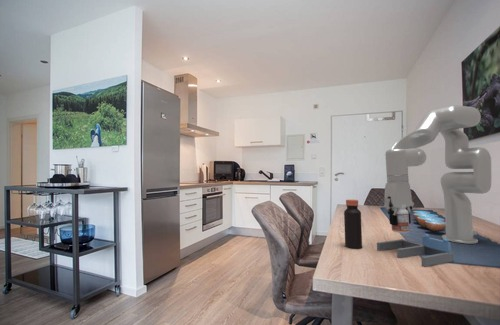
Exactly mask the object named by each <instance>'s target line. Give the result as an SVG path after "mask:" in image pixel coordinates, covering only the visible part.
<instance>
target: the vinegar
mask: <svg viewBox="0 0 500 325" xmlns="http://www.w3.org/2000/svg"><path fill="white" fill-rule="evenodd" d="M345 205H346V206H345V207H346V209H345V210H344V211H343V218H344V219H343V223H344V244H345V245H344V246H345V247H346V248H348V249H354V250H355V249H356V250H357V249H362V248H363V235H362V232H363V231H362V213H361V210H360V209H358V207H359V200H358V199H346V200H345Z"/></svg>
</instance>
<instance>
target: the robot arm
mask: <svg viewBox="0 0 500 325" xmlns="http://www.w3.org/2000/svg"><path fill="white" fill-rule="evenodd" d="M481 119H482V115H481V112H480V111H479V109H477V108H475V107H473V106H468V105H467V106H466V105H454V104H453V105H450V106H445V107H441V108H437V109H433V110H430V111H428V112H427V113H426V114H425V115H424V116H423V117H422V119H421V120H420V122H419V123H418V125H416V127H415V129H414V130H413V131H411V132H410V133H408V134H407V135H405V136H403V137H402V138H400V139H399V140H397V141H396V142H395V143H394V144H393V145H392V147H391V148H390V149H387V150H386V151H385V155H384V156H385V167H386V168H385V169H386V170H385V171H386V183H385V187H384V203H383V206H382V207H383V208H384V210H385V211H386V212H387V215H388V216H389V225H391V226H392V225H396V226H397V225H398V218H397V215H396V212H397V208H401V207H402V205H406V208H405V209H406V210H407V211H408V213H409V225H410V224H411V223H412V221H411V214H412V210H413V208H414V206H415V202H414V201H413V199H412V190H411V186H410V180H409V169H408V168H409V167H410V168H411V167H419V166H422V165H423V164H425V163H426V161H427V154H426V152H425V151H424V149H421V147H424V146H426V145H428V144H430V143H432V142H434V141H435V139H436V138H437V137H438V136H439V134H441V135H442V137H443V139H444V146H445V147H444V150H445V151H444V160H445V162H444V163H445V166H446V168H448V169H451V170H473V171H451V172H446V173H444V174H443V175H441V177H440V185H441V188H442V189H441V190H442V193H443V198H444V199H443V201H444V202H443V203H444V216H445V217H444V220H445V234H442V235H441V238H442V239H443V238H446V239H449V242H451V243H458V244H465V245H466V244H467V245H469V244H471V245H473V244H474V245H475V244H478V243H479V240H478V239H477V238H476V237H474V236H476V235H478V231H477V230H474V229H473V212H472V202H471V200H470V198H469V197H468V196H467V194H487V193H489V192H490V190H491V187H492V157H491V154H490V151H488V149H486V148H485V147H469V137H468V136H467V134H466V133H465V132H464V131H462V130H461V129H465V128H472V127H476V126H477V125H479V124H480V122H481ZM392 206H393V207H392ZM392 209H394V210H392Z"/></svg>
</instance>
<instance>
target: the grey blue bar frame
mask: <svg viewBox="0 0 500 325" xmlns="http://www.w3.org/2000/svg"><path fill="white" fill-rule="evenodd" d="M451 245H452V241H449V239H446V238H442V239H437V238H434V237H430V234H428V233H424V234H423V236H422V244H421V243H418V242H414V241H410V240H406V239H394V240H388V241H387V240H386V241H380V242H379V241H378V242H376V251H379V252H380V251H387V250H394V249H396V258H398V259H402V258H403V259H404V258H408V257H409V258H410V257H415V256H421V255H422V256H421V261H420V262H421V263H420V264H421V267H425V268H426V267H427V268H428V267H432V266H437V265H442V264H448V263H452V262H453V263H454V252H452V246H451ZM423 255H424V256H423Z"/></svg>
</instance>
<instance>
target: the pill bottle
mask: <svg viewBox="0 0 500 325" xmlns="http://www.w3.org/2000/svg"><path fill="white" fill-rule="evenodd" d="M392 207H393V206H392ZM392 210H394V209H392ZM396 215H397V218H398V225H397V226H396V225H391V230H392V232H394V233H399V234H409V233H410V231H411V229H410V224H409V213H408V211H407V210H406V205H402V207H401V208H397V212H396Z"/></svg>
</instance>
